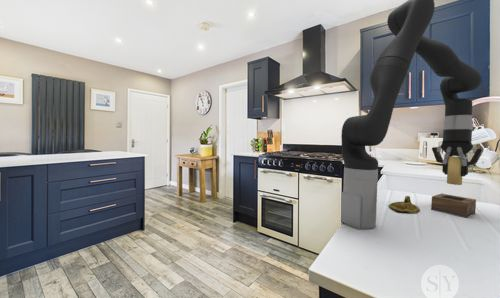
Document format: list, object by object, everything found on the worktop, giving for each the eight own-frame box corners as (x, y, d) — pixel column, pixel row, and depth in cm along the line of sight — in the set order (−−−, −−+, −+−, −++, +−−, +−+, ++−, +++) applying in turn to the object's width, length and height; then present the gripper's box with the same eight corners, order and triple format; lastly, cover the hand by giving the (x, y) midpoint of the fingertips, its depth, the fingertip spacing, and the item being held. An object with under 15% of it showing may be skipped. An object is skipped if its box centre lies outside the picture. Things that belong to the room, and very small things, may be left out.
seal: (415, 220, 72) (421, 210, 82) (417, 207, 71) (424, 198, 81) (383, 210, 78) (393, 202, 89) (386, 198, 78) (395, 191, 88)
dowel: (459, 185, 74) (461, 157, 74) (445, 183, 78) (446, 156, 77) (463, 184, 76) (465, 157, 76) (448, 182, 80) (450, 156, 79)
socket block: (466, 217, 71) (467, 203, 71) (431, 209, 79) (431, 196, 79) (475, 213, 76) (476, 199, 76) (441, 205, 84) (441, 193, 84)
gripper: (428, 129, 80) (426, 173, 81) (482, 127, 68) (479, 179, 69) (436, 129, 84) (434, 171, 85) (489, 128, 72) (486, 177, 73)
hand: (454, 175), depth 77 cm, fingers closed on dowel, 4 cm apart
